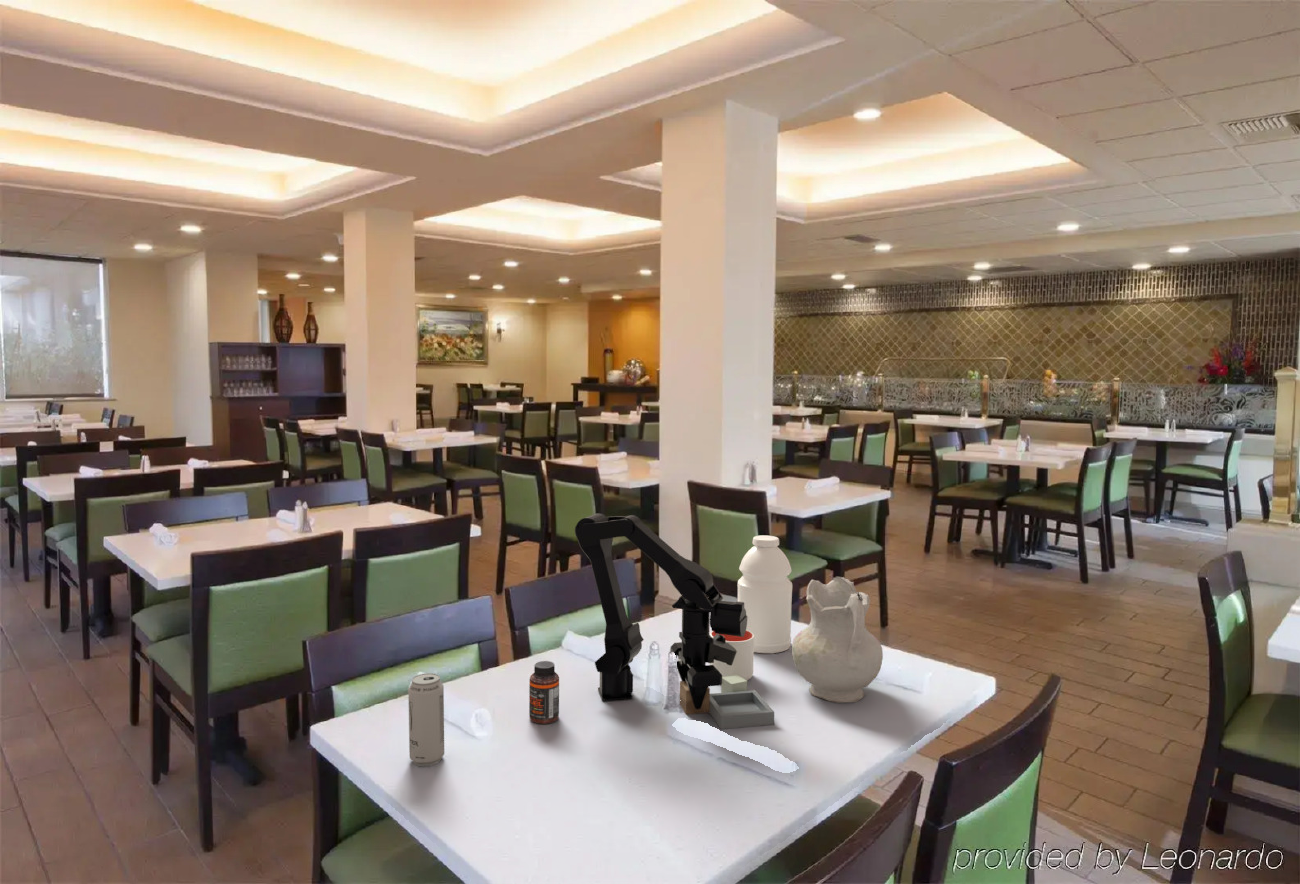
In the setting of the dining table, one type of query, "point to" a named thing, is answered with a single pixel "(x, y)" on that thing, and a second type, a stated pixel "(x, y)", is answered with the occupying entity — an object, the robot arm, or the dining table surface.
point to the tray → (740, 709)
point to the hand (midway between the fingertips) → (694, 703)
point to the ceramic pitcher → (837, 643)
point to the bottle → (766, 595)
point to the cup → (738, 656)
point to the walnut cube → (688, 703)
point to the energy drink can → (426, 719)
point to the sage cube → (733, 684)
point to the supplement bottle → (544, 693)
